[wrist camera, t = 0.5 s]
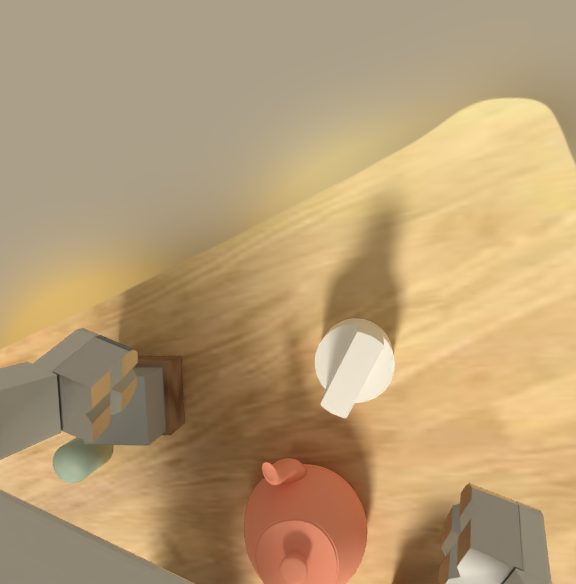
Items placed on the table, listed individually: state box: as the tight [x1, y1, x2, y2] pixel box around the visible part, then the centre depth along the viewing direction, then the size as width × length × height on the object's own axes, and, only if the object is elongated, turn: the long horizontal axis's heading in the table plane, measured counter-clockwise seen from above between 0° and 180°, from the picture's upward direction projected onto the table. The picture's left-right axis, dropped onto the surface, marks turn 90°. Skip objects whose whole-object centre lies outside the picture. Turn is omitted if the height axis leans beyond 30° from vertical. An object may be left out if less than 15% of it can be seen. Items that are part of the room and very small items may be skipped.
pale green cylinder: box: [53, 437, 113, 483], centre depth 67 cm, size 5×5×6 cm
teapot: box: [244, 458, 367, 584], centre depth 59 cm, size 22×15×12 cm
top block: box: [84, 367, 166, 445], centre depth 61 cm, size 8×8×5 cm
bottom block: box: [134, 356, 185, 435], centre depth 66 cm, size 9×9×5 cm
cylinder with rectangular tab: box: [315, 318, 395, 418], centre depth 57 cm, size 9×9×12 cm
